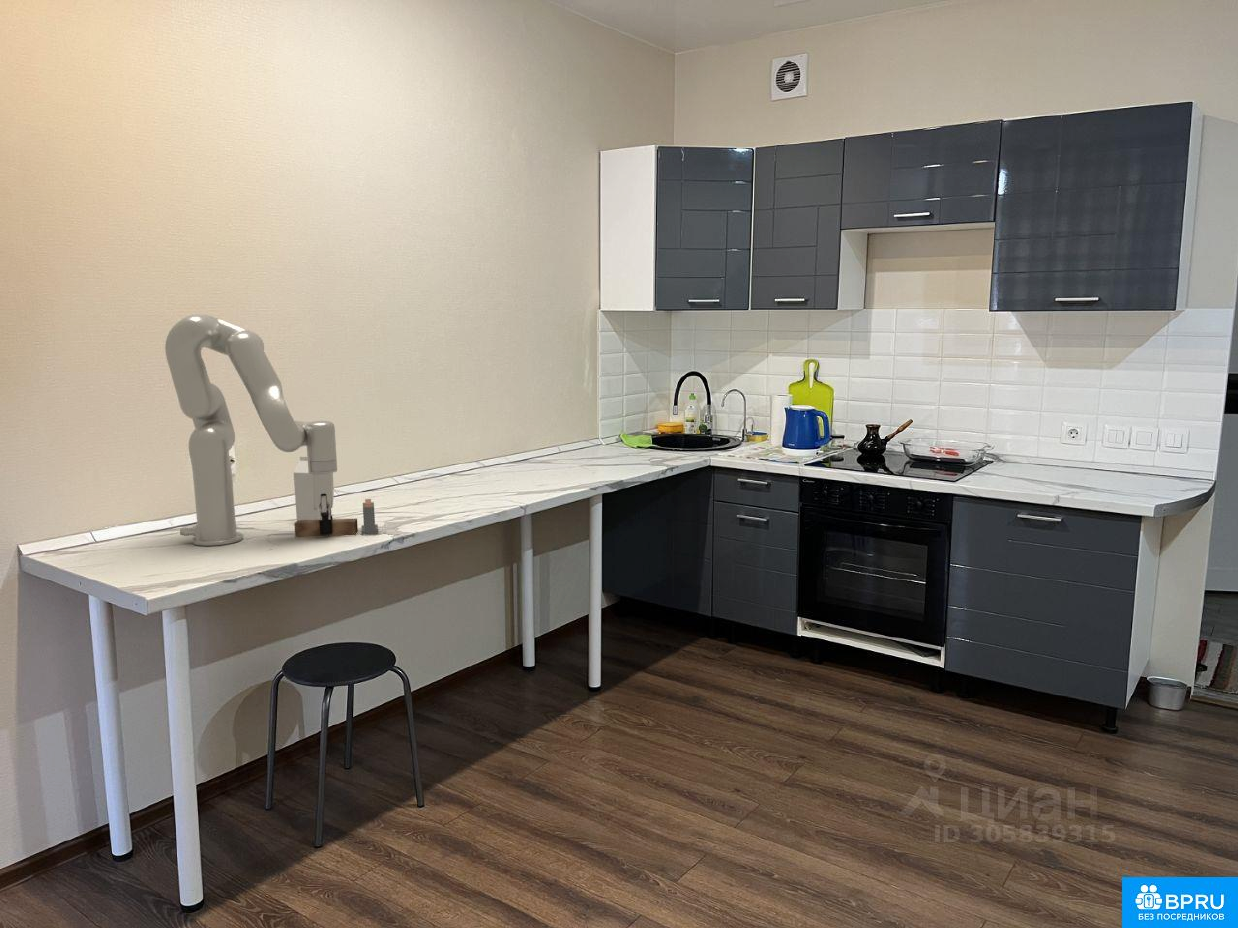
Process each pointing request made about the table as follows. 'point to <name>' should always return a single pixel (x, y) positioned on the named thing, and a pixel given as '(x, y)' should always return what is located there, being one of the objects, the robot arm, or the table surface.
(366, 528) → the ridge stand
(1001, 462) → the table surface
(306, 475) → the milk carton
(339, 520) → the walnut rod
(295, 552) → the table surface
